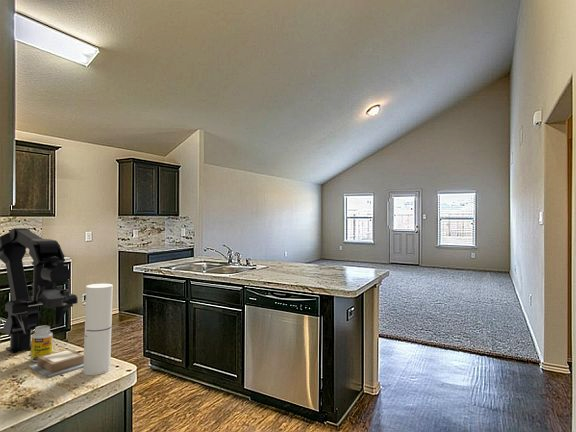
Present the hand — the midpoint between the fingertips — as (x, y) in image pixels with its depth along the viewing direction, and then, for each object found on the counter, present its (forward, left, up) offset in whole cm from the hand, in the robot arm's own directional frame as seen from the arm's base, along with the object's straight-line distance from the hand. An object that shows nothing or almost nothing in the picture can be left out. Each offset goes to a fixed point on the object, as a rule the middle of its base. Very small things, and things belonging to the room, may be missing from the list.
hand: (42, 330), depth 120 cm
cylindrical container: (+21, +6, -9) cm, 24 cm away
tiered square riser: (+10, +1, -9) cm, 14 cm away
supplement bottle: (0, 0, -10) cm, 10 cm away
